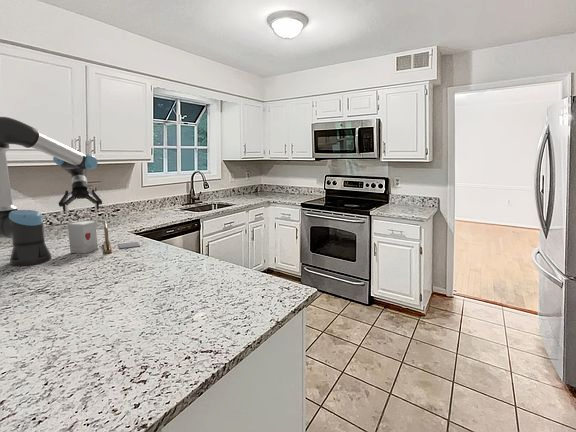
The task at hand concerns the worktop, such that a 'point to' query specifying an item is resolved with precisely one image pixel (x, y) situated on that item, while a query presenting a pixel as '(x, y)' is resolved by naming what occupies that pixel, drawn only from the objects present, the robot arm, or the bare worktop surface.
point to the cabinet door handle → (106, 240)
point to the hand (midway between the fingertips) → (81, 214)
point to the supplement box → (82, 236)
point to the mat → (129, 245)
